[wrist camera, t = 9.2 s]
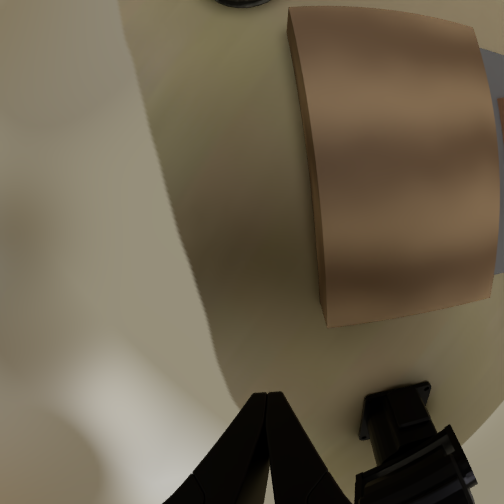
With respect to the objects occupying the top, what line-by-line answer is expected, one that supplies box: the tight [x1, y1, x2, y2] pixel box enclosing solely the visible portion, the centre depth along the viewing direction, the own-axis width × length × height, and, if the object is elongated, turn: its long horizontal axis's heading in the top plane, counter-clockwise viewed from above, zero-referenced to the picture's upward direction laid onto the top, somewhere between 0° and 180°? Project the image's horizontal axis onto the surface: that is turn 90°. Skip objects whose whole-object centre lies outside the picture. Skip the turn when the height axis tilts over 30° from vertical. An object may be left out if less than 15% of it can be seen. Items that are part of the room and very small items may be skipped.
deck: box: [287, 6, 500, 328], centre depth 15 cm, size 18×12×4 cm, turn 8°
